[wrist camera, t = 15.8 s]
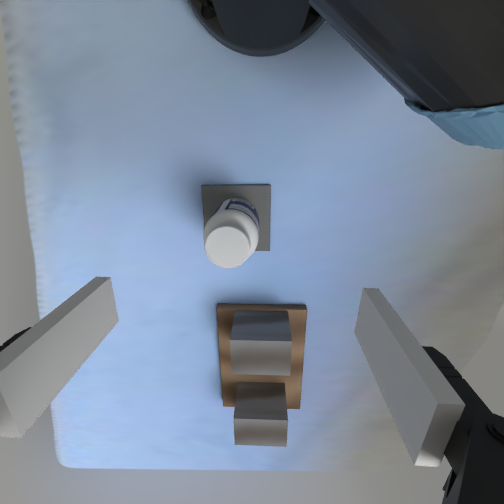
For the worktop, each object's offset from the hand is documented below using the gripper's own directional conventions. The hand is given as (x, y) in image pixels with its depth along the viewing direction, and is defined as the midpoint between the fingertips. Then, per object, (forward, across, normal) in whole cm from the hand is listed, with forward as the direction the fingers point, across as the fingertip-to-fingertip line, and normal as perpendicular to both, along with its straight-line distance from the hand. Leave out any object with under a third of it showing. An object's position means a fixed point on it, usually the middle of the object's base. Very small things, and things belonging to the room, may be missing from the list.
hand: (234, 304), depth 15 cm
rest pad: (+20, -2, -1) cm, 20 cm away
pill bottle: (+20, -2, -1) cm, 20 cm away
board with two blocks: (+20, +2, -22) cm, 29 cm away
